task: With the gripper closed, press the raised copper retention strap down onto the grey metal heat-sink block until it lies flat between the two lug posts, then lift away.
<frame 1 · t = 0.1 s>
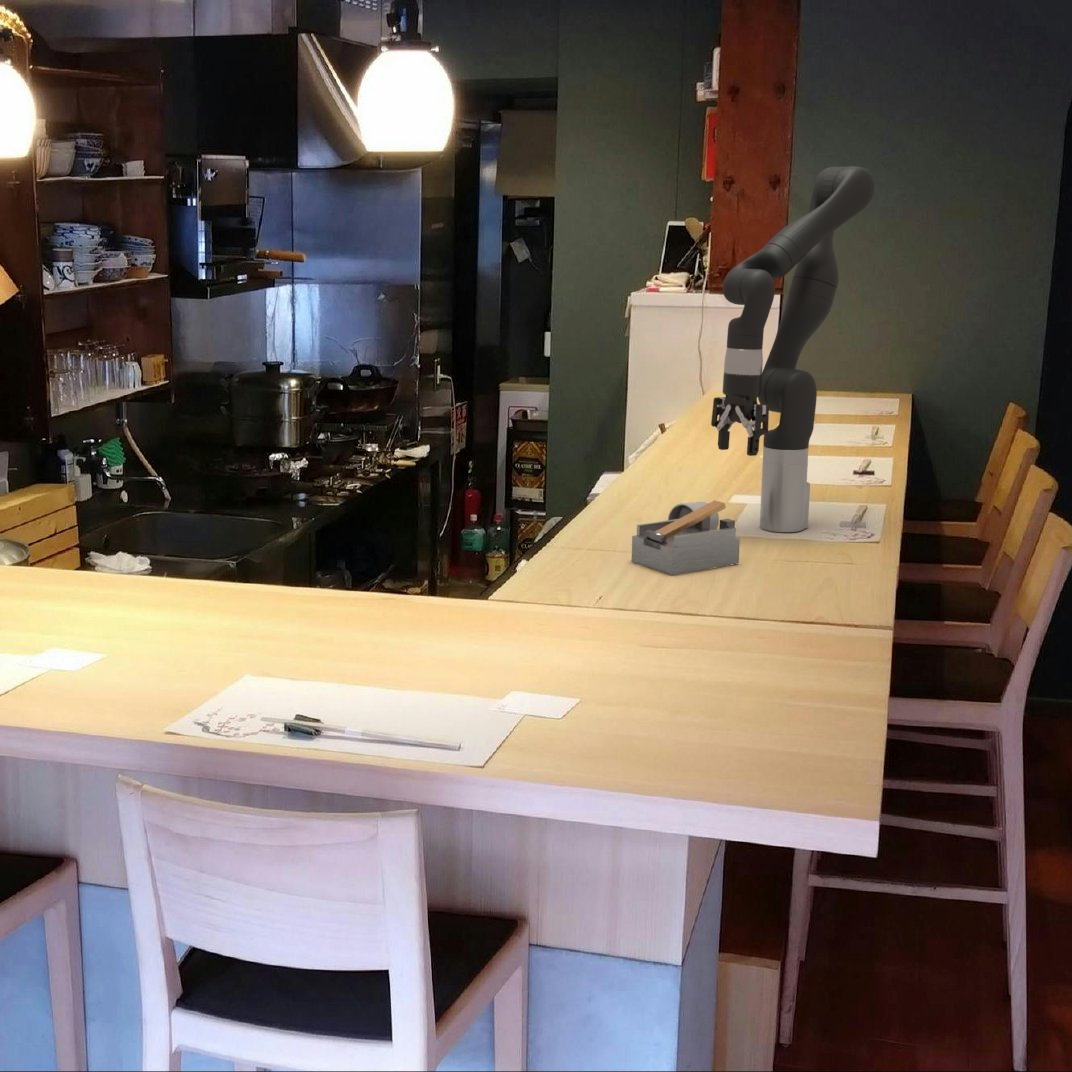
hand: (737, 452, 270), 17 cm above the bar counter, tool pointing down, fingers open, 8 cm apart
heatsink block: (685, 562, 252), on the bar counter
strap: (686, 520, 251), point 8 cm above the bar counter, hinge at 17.0°, touching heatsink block
ceramic mug: (687, 538, 273), on the bar counter
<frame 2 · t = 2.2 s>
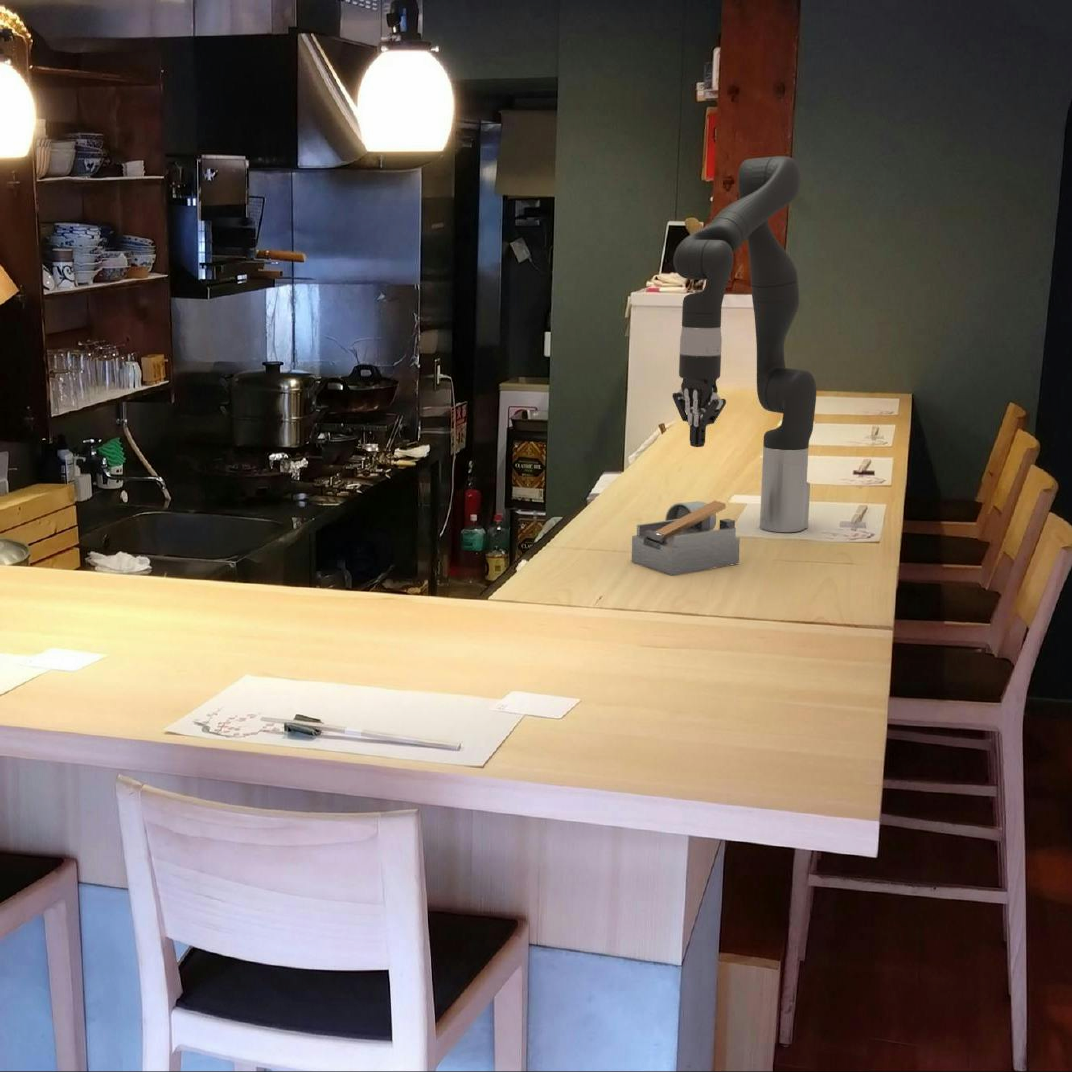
hand: (697, 446, 249), 22 cm above the bar counter, tool pointing down, fingers closed
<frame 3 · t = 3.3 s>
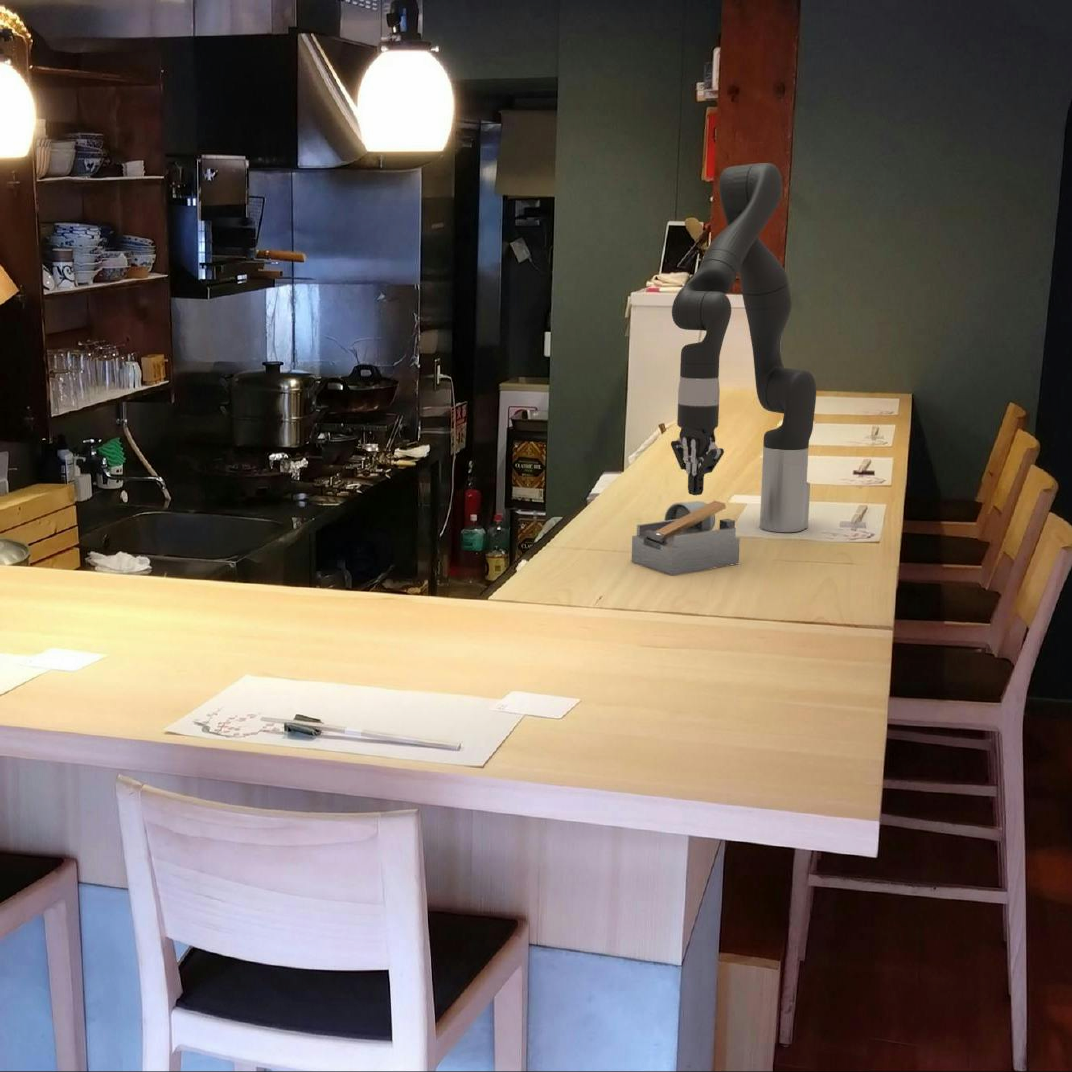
hand: (695, 494, 251), 13 cm above the bar counter, tool pointing down, fingers closed
nothing on the bar counter moved.
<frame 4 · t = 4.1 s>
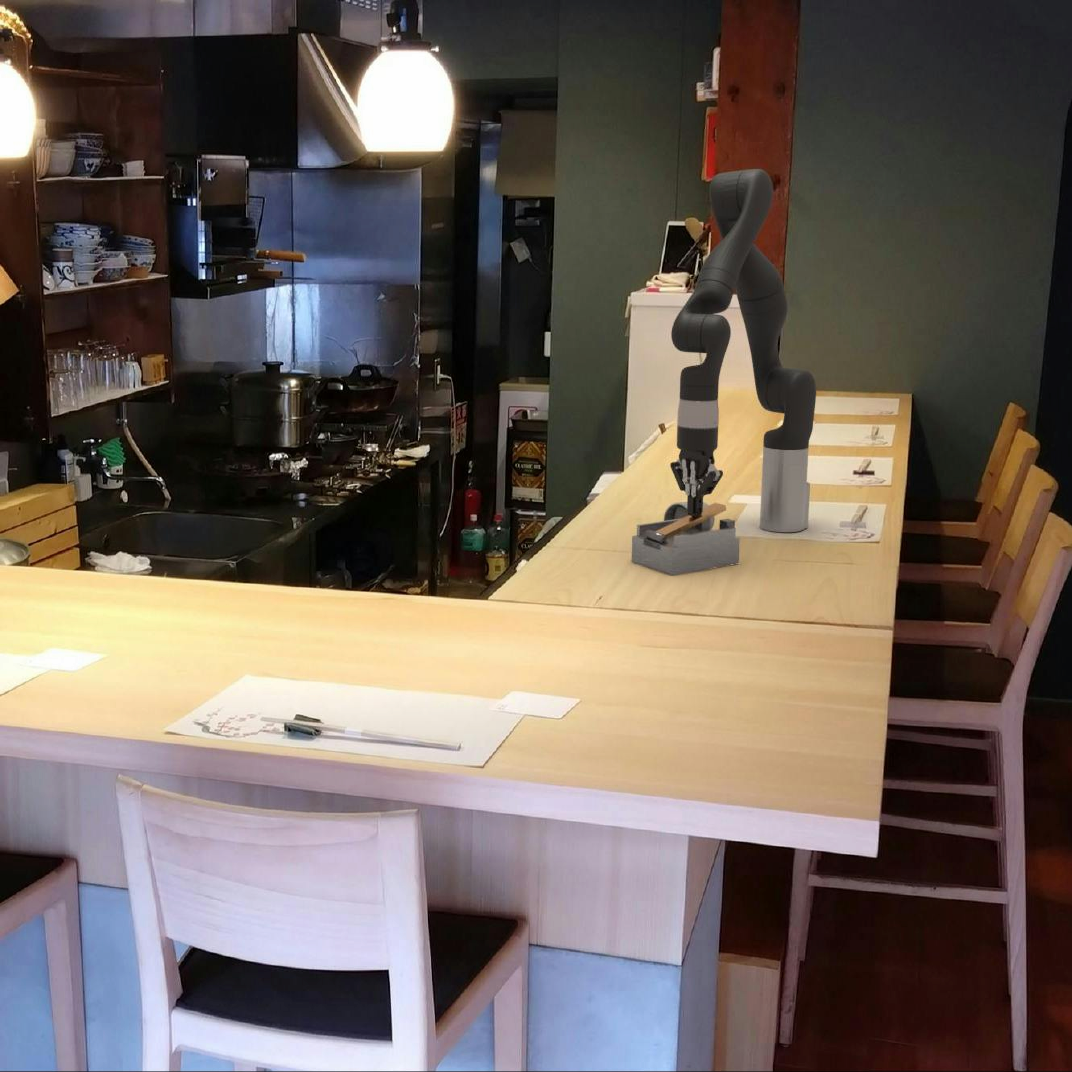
hand: (694, 515, 252), 9 cm above the bar counter, tool pointing down, fingers closed
strap: (686, 521, 251), point 8 cm above the bar counter, hinge at 15.3°, touching gripper, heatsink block
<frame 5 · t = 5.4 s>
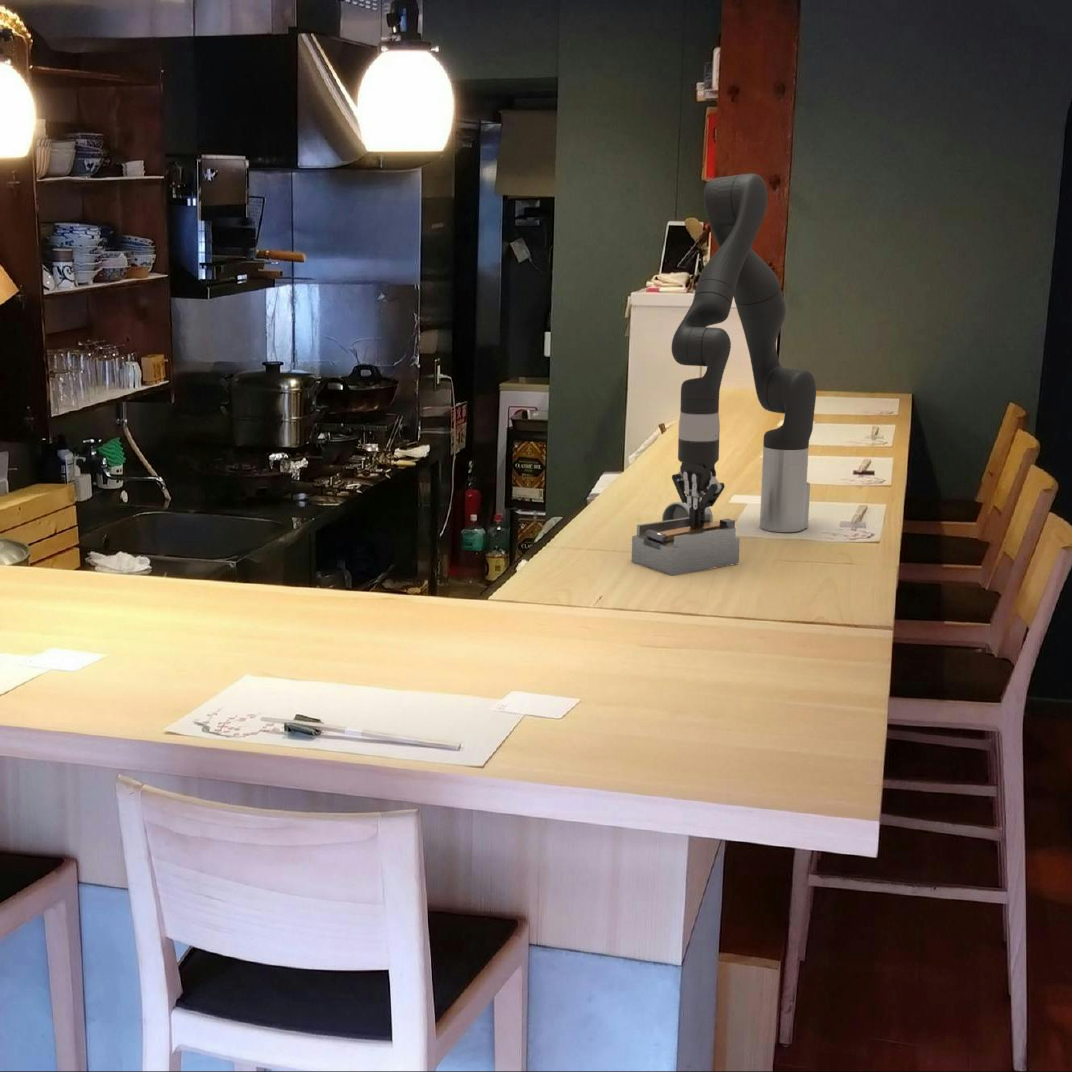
hand: (696, 527, 252), 6 cm above the bar counter, tool pointing down, fingers closed
strap: (688, 530, 251), point 6 cm above the bar counter, hinge at 1.8°, touching gripper, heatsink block
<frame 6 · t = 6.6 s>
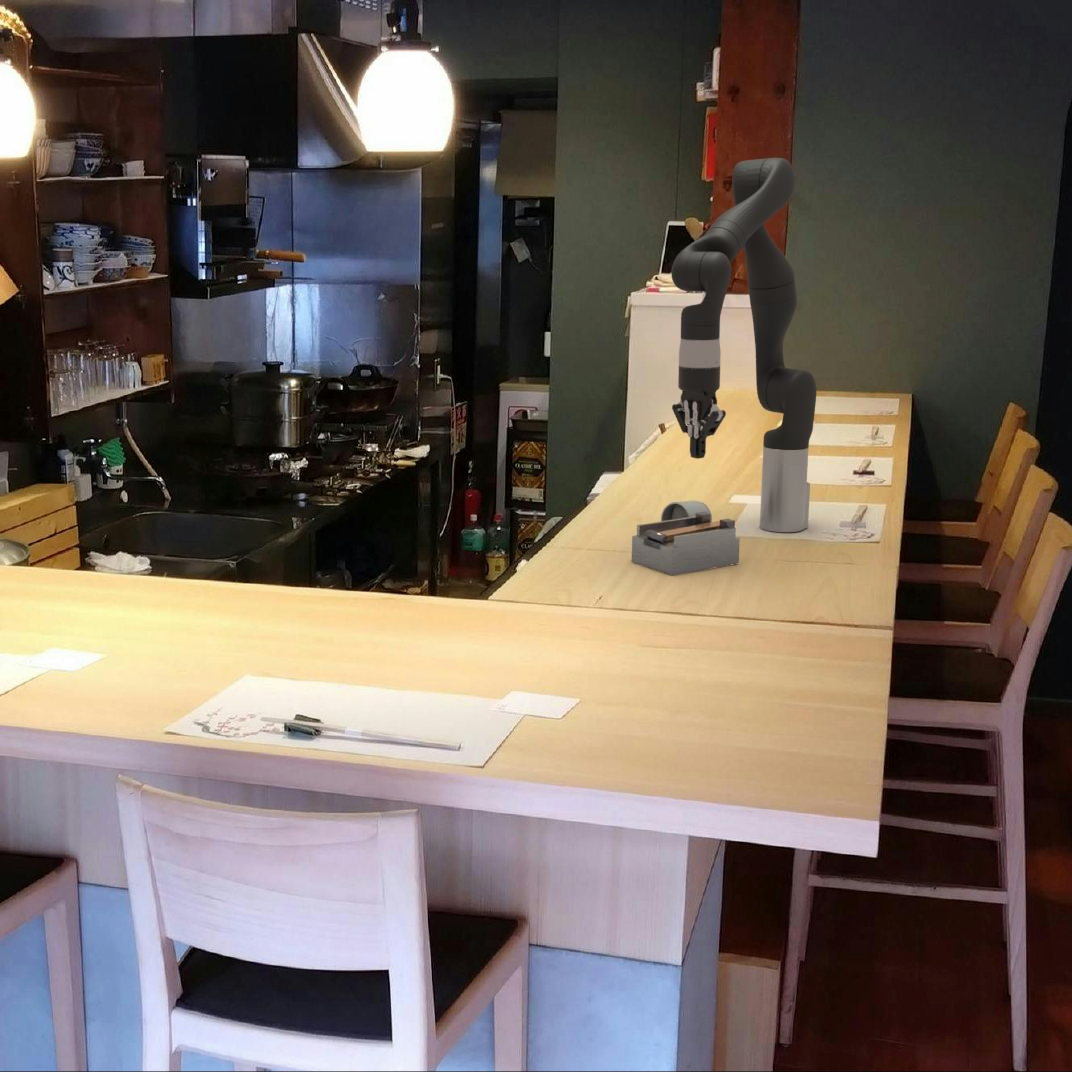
hand: (697, 457, 249), 20 cm above the bar counter, tool pointing down, fingers closed
strap: (688, 530, 251), point 6 cm above the bar counter, hinge at 1.8°, touching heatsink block
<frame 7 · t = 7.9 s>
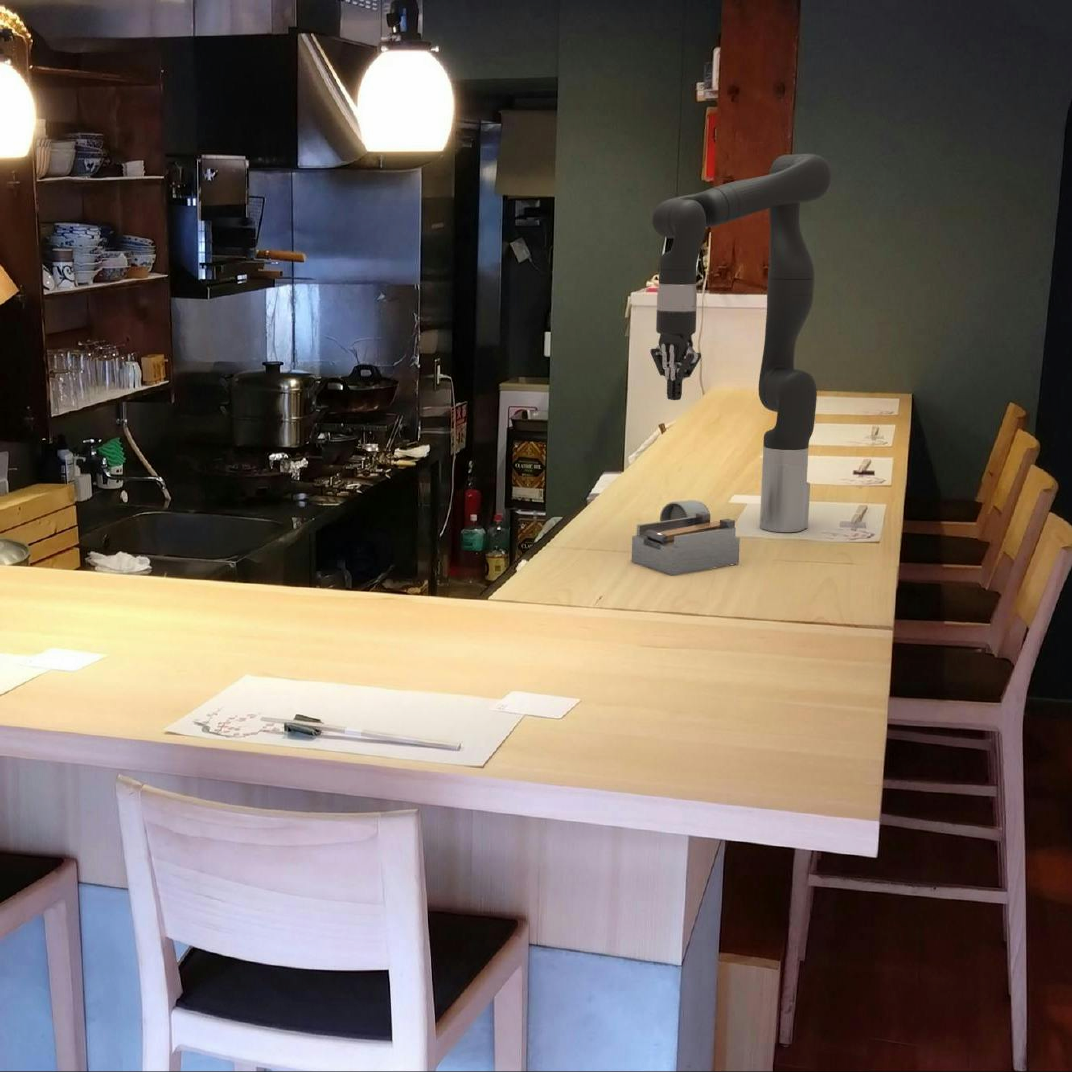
hand: (674, 399, 259), 29 cm above the bar counter, tool pointing down, fingers closed
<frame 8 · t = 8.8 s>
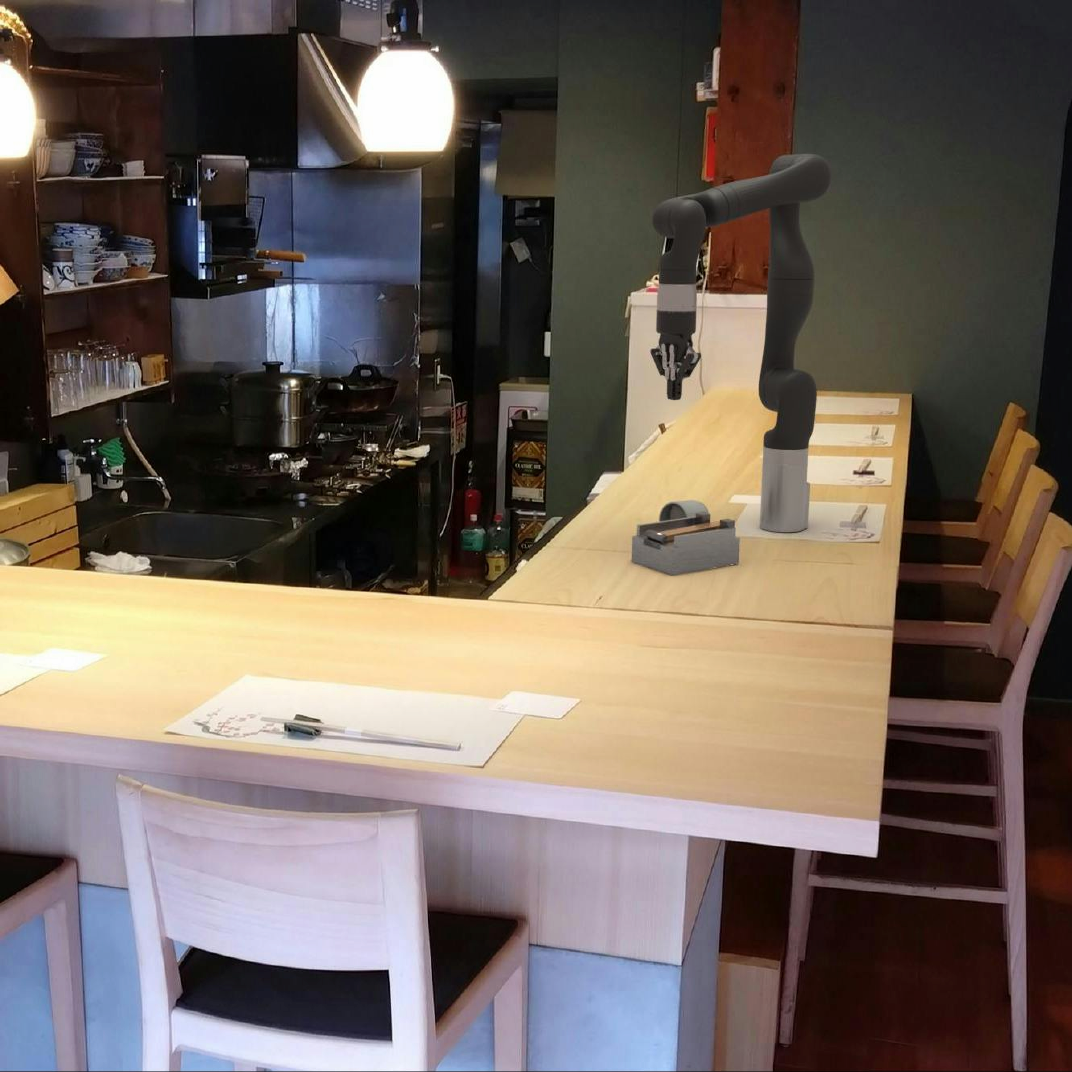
hand: (673, 399, 259), 29 cm above the bar counter, tool pointing down, fingers closed
at the end: strap at +2° (first picture: +17°); the gripper is holding nothing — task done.
